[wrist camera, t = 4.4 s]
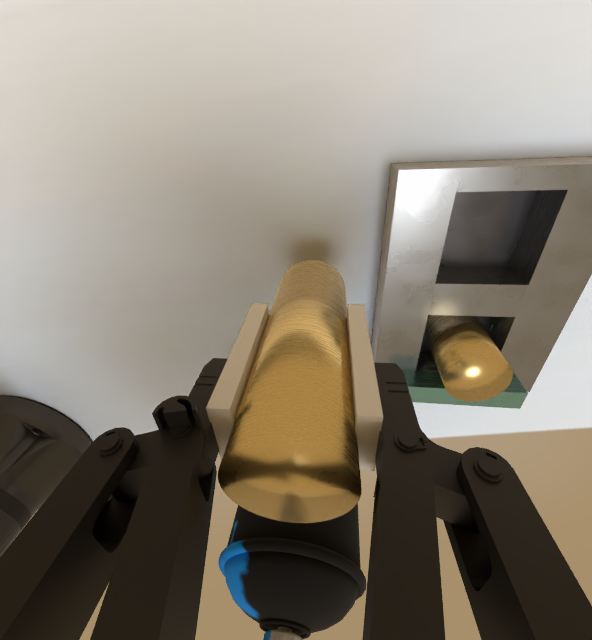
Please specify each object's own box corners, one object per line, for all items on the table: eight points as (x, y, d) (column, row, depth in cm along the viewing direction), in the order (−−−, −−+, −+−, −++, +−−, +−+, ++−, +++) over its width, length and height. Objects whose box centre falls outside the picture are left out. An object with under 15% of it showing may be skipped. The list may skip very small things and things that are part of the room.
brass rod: (281, 317, 20) (228, 516, 10) (277, 259, 18) (206, 437, 8) (343, 319, 19) (355, 528, 9) (347, 260, 17) (368, 448, 7)
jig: (369, 359, 28) (375, 415, 23) (391, 163, 19) (410, 180, 14) (511, 365, 26) (554, 427, 21) (606, 155, 17) (719, 171, 12)
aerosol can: (366, 354, 28) (403, 710, 11) (343, 413, 32) (345, 725, 16) (277, 336, 28) (181, 660, 11) (267, 397, 32) (188, 689, 16)
